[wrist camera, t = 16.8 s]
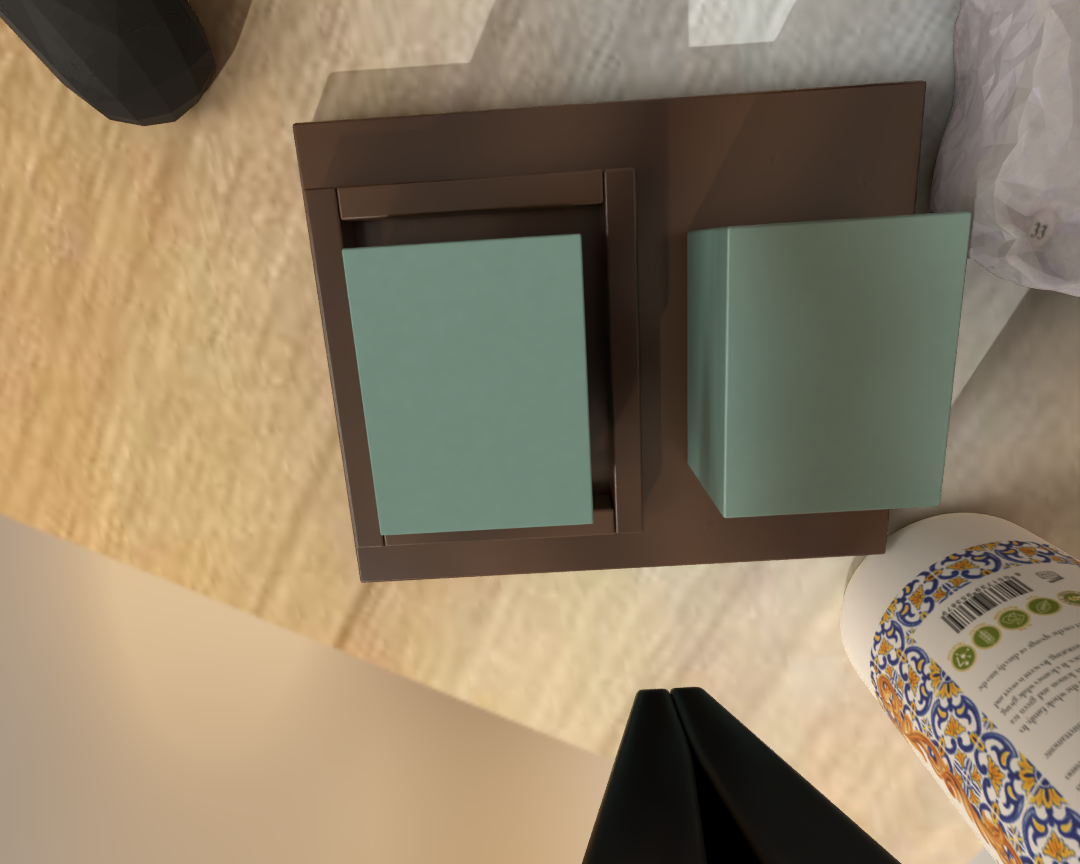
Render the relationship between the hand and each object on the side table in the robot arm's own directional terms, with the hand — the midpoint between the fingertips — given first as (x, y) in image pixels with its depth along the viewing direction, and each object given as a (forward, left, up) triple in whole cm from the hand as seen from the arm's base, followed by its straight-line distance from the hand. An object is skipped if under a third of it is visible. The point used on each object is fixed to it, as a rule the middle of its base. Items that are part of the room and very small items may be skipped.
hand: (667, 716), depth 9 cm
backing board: (-1, -3, -12) cm, 12 cm away
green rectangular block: (+3, -3, -11) cm, 12 cm away
